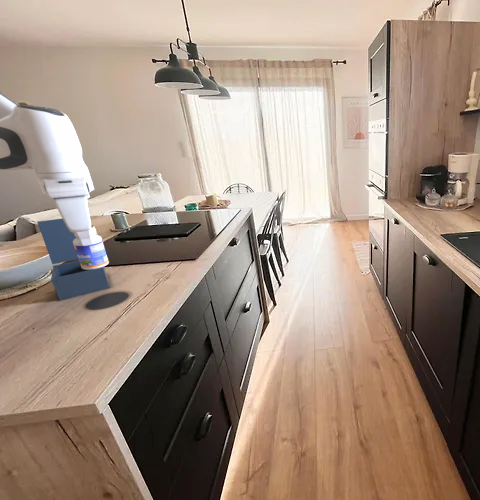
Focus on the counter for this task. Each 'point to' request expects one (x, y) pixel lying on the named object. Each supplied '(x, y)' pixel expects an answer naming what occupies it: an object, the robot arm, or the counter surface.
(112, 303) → the coaster
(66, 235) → the box lid
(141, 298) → the counter surface
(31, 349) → the counter surface
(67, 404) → the counter surface
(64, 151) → the robot arm
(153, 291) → the counter surface
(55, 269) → the box
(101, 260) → the pill bottle
